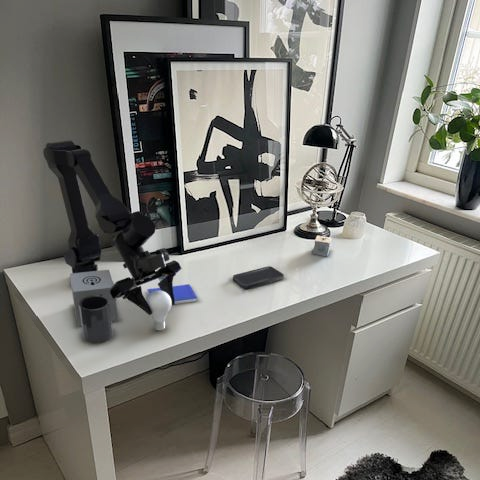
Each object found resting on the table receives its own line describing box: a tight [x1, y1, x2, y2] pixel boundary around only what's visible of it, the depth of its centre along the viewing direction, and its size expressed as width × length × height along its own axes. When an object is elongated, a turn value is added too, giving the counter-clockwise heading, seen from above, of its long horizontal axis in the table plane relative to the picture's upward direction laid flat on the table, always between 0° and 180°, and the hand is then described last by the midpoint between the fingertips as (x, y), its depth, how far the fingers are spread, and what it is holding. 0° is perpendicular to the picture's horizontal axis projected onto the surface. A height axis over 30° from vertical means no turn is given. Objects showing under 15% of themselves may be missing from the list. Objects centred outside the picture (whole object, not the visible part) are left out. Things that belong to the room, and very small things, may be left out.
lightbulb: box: [145, 290, 173, 331], centre depth 125 cm, size 6×6×11 cm
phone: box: [232, 265, 285, 290], centre depth 155 cm, size 8×1×15 cm
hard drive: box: [146, 283, 198, 305], centre depth 142 cm, size 2×8×12 cm
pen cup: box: [79, 295, 113, 344], centre depth 122 cm, size 7×7×10 cm
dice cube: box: [312, 234, 332, 257], centre depth 174 cm, size 5×5×5 cm
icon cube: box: [69, 269, 118, 327], centre depth 130 cm, size 10×10×10 cm
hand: (162, 309), depth 124 cm, fingers open, 7 cm apart
